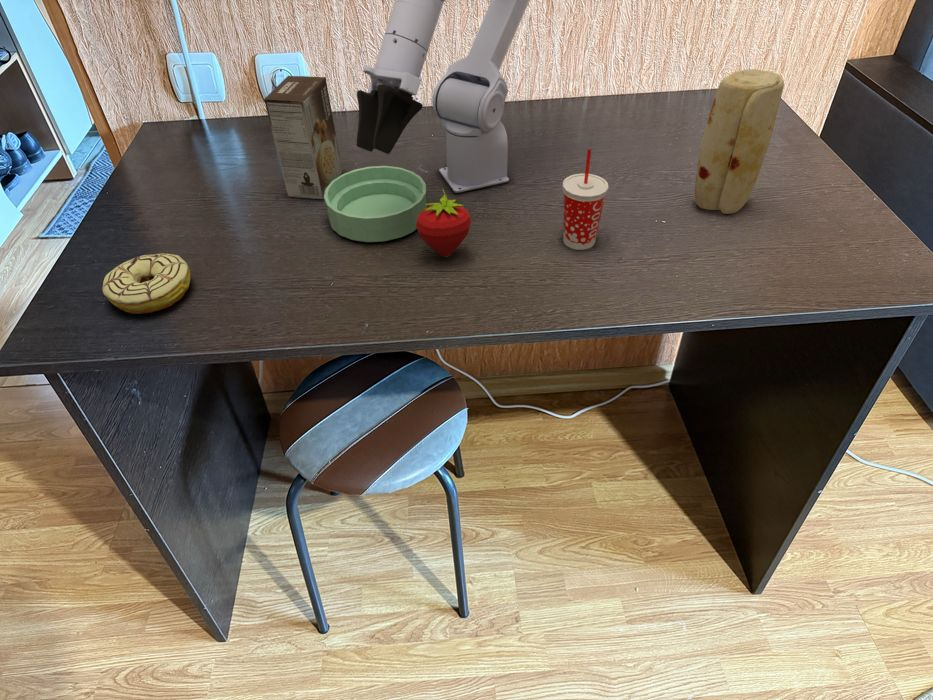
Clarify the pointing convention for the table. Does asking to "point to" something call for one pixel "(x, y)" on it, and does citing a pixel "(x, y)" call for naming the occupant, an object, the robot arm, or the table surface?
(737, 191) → the food model
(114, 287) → the decorated donut
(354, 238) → the mint green dish
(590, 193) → the beverage cup
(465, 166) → the robot arm
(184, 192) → the table surface
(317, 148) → the coffee box
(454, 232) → the strawberry
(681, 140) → the table surface
